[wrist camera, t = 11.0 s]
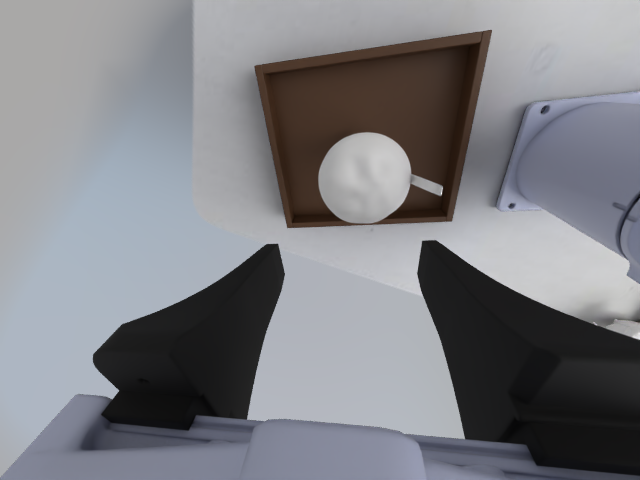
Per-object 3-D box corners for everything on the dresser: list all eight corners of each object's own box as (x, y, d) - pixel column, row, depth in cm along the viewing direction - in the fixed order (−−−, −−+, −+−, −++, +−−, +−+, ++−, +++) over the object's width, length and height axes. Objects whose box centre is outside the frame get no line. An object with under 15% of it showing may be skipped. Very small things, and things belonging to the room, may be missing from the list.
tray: (476, 36, 15) (492, 29, 13) (444, 211, 21) (452, 221, 19) (263, 68, 17) (253, 65, 15) (291, 218, 23) (287, 228, 21)
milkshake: (397, 174, 19) (434, 238, 11) (332, 180, 20) (319, 243, 12) (401, 111, 17) (452, 131, 8) (327, 120, 18) (306, 146, 9)
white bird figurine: (613, 335, 27) (640, 381, 24) (563, 330, 29) (583, 373, 26) (671, 302, 22) (717, 355, 19) (606, 297, 23) (638, 347, 20)
